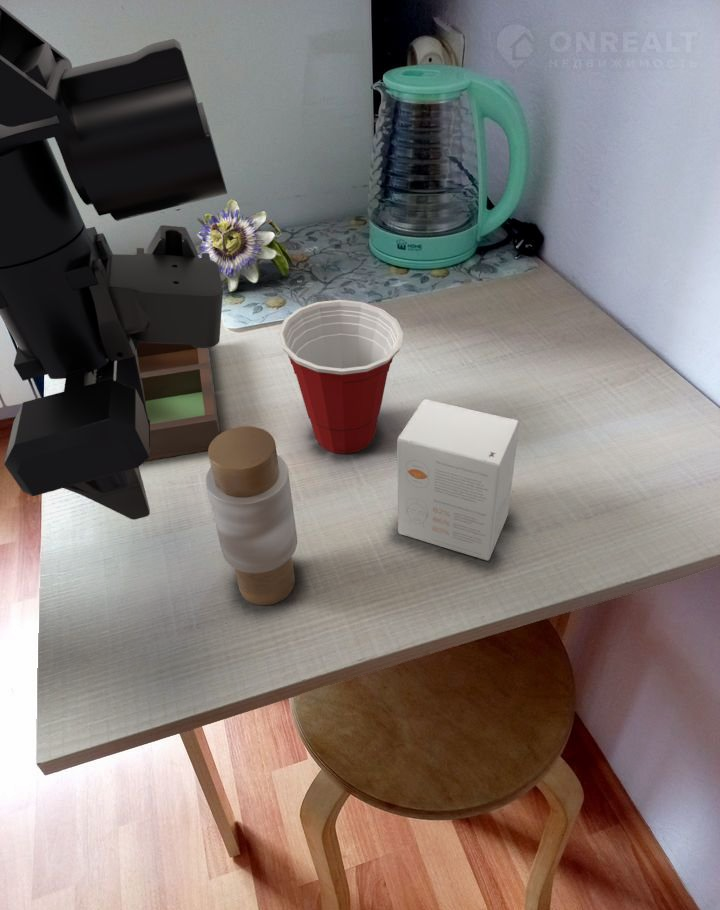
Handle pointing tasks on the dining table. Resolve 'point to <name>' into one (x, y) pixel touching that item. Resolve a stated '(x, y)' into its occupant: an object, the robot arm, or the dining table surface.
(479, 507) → the small box
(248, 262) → the passion flower
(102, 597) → the dining table surface
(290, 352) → the plastic cup
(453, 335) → the dining table surface
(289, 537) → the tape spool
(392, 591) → the dining table surface
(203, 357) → the tray
